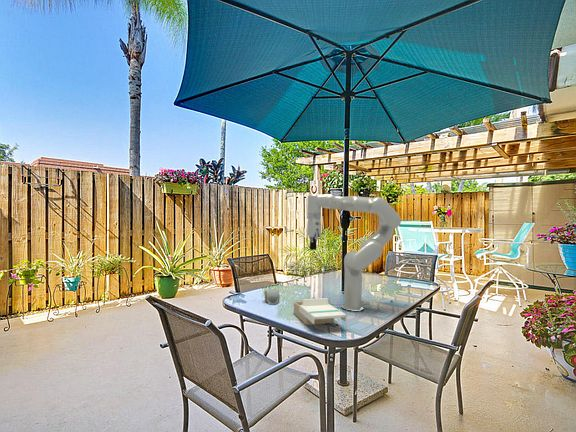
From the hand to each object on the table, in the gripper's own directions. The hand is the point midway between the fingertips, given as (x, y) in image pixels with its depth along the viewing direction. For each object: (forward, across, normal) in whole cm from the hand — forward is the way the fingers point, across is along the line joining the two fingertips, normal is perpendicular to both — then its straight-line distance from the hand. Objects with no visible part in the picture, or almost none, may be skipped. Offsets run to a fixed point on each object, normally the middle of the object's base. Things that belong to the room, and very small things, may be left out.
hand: (313, 249), depth 169 cm
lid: (+28, -27, +6) cm, 40 cm away
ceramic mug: (+32, +15, +18) cm, 40 cm away
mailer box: (+32, -17, +6) cm, 37 cm away
